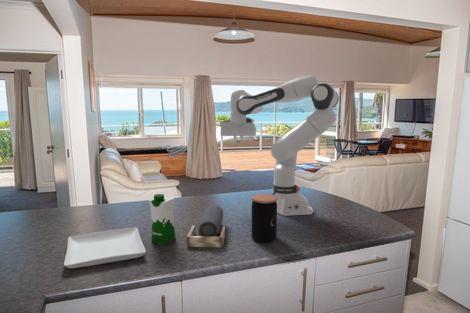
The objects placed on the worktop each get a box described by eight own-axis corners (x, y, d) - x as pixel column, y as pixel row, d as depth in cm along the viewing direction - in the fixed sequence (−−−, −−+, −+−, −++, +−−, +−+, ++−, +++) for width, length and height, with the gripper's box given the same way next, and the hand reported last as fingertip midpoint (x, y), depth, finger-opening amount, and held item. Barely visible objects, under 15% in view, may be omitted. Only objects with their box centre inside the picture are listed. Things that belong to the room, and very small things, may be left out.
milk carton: (148, 242, 134) (146, 195, 131) (162, 234, 142) (160, 190, 139) (165, 246, 131) (164, 198, 127) (178, 238, 139) (177, 192, 136)
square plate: (64, 275, 109) (63, 265, 108) (69, 244, 134) (68, 235, 133) (146, 260, 120) (146, 250, 119) (137, 233, 144) (136, 225, 144)
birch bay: (225, 234, 142) (225, 226, 142) (222, 247, 130) (222, 237, 129) (192, 234, 143) (192, 225, 142) (186, 246, 130) (186, 237, 130)
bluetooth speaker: (220, 243, 133) (219, 220, 132) (197, 243, 134) (197, 219, 132) (224, 223, 156) (224, 203, 154) (205, 223, 156) (204, 203, 155)
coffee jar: (275, 244, 132) (276, 201, 129) (249, 242, 134) (249, 200, 131) (277, 234, 142) (278, 194, 140) (253, 232, 145) (253, 193, 142)
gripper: (219, 119, 181) (219, 144, 183) (256, 119, 180) (256, 144, 182) (220, 119, 187) (220, 143, 190) (256, 119, 186) (255, 143, 189)
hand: (238, 143), depth 186 cm, fingers closed
